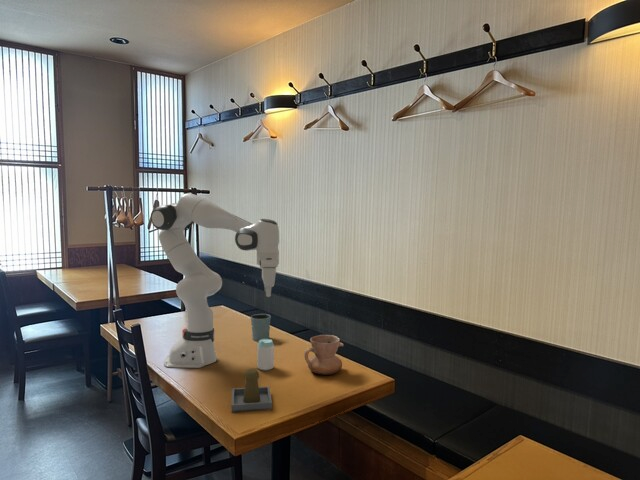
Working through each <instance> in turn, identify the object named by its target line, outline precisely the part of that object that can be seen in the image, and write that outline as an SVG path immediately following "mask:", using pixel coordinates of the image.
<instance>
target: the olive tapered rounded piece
mask: <svg viewBox="0 0 640 480" xmlns="http://www.w3.org/2000/svg"><path fill="white" fill-rule="evenodd" d="M259 378H260V372H259V370H257V369H255V368H249V369H247V370H245V372H244V379H245V383H244V384H245V385H244V388H245V391H244V398H243V402H244V403H258V402H260V394H259V387H260V386H259V381H258V380H259Z"/></svg>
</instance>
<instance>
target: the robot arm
mask: <svg viewBox="0 0 640 480" xmlns="http://www.w3.org/2000/svg"><path fill="white" fill-rule="evenodd" d="M150 220H151V224H152V225H153V227H154V228H155V229H157V230H159V231H160V232H159V234H158V239H159V243H160V246H161V248H162V250H163V251H164V254H165V255H166V257H167V258H168V260H169V262H170V264H171V266H172V267H173V268H174V270H175V271H176V272H178V273H180V274H181V275H183V276H184V278H183V279H181V280H180V281H178V283H177V284H176V288H175V293H176V295H177V297H178V299H179V300H180V301H182V302H183V304H184V307H185V311H186V318H187V320H186V323H187V327H184V328H183V329H182V338H181V339H179V340H178V341H177V342H175V343H174V344H173V345H172V346H171V348H170V350H169V355H167V356H166V357H164V360H163V366H164V367H166V368H189V369H197V368H198V369H200V368H203V367H204V366H207V365H211V364H213V363H215V362H216V361H217V359H218V358H217V354H216V349H215V328H214V311H213V309H212V308H210V307H209V304H208V299H207V298H208V297H211V296H213V295H215V294H216V293H217V292H219V291H220V290H221V288H222V286H223V279H222V277H221V275H220V274H218V273H217V272H215V271H213V270H212V269H211V268H209V267H208V266H207V265H206V264H205V263H204V262H203V261H202V260H201V259H200V257H198V255H197V254H196V252H195V250H194V248H193V247H192V246H191V245H192V244H190V242H189V241H188V239H187V238H186V236H185V231H189V230H190V229H191V226H192V225H193V224H196V225H199V226H200V227H204V228H206V229H222V230H223V229H225V230H230V231H233V232H234V233H235V235H234V242H235V245H236V246H237V247H238V249H240V250H242V251H244V252H245V251H247V252H248V251H256V265H258V266H259V269H261V279H262V281H263V282H262V283H263V286H264V292H265V296H266V298H270V297H271V296H272V288H273V287H274V286H275V281H276V274H277V268H278V267H279V266H278V265H279V264H280V250H279V244H280V230H279V224H278V222H276V221H275V220H272V219H269V218H267V219H266V218H261V219H258V220H257V221H256V222H254V223H251V222H250V221H247V220H246V219H244V218H241V217H239V216H237V215H235V214H233V213H230V212H229V211H227V210H225V209H224V208H222V207H220V206H219V205H216V204H215V203H213V202H212V201H210V200H208V199H206V198H204V197H202V196H199V195H197V194H193V193H191V192H187V193H184V194H182V195H181V196H180V197H179V199H178V201H177V202H174V203H170V204H169V203H168V204H163V205H159V206H157V207H155V208H153V210H152V211H151V213H150Z"/></svg>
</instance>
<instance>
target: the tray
mask: <svg viewBox="0 0 640 480" xmlns="http://www.w3.org/2000/svg"><path fill="white" fill-rule="evenodd" d="M258 387H259V394H260V402H258V403H244V402H243V398H244V391H245V387H237V388H231V413H241V412H242V413H243V412H244V413H245V412H256V411H257V412H258V411H259V412H260V411H271V410H273V401H272V394H271V389H270V386H258Z"/></svg>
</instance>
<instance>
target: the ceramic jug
mask: <svg viewBox="0 0 640 480" xmlns="http://www.w3.org/2000/svg"><path fill="white" fill-rule="evenodd" d="M309 341H310V345H311V347H307V348H306V349H305V350H304V360H305V361H306V364H307V367H308V368H309V370H310V371H311V372H313V373H315V374H317V375H323V376H324V375H325V376H327V375H328V376H329V375H333V374H336V373H338V372H340V370H342V367H343V361H342V359H341V358H339V357H338V356H336V354H337V352H338V348H339V347H344V343H342V342H341V341H340V338H339V337H338V336H336V335H334V334H332V335H331V334H320V335H315V336H312V337H310V339H309ZM310 352H311V353H314V356H313V357H311V358H310V359H309V354H310Z"/></svg>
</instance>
